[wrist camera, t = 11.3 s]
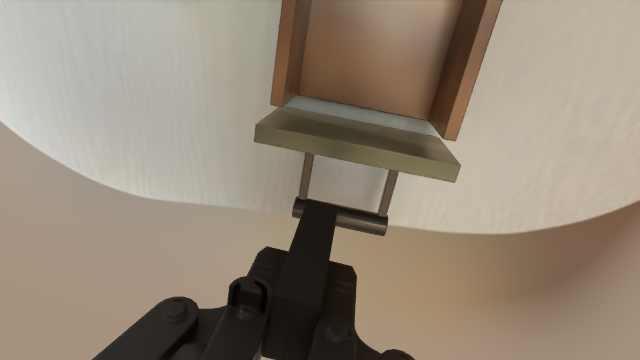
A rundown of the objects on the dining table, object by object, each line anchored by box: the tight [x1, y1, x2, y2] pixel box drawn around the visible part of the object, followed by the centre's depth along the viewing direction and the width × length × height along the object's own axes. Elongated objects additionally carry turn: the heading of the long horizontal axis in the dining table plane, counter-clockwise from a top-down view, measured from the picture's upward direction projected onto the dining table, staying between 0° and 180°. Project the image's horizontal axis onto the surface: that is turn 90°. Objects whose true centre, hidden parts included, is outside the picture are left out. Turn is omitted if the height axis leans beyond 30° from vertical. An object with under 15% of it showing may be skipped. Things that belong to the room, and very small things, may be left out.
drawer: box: [254, 0, 503, 236], centre depth 24 cm, size 20×13×7 cm, turn 170°
